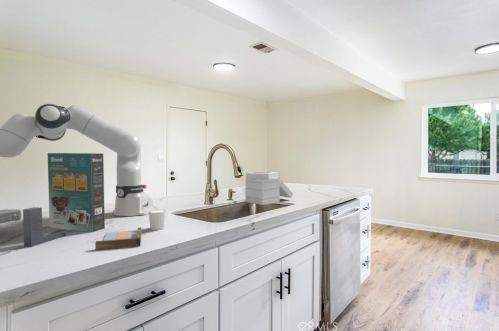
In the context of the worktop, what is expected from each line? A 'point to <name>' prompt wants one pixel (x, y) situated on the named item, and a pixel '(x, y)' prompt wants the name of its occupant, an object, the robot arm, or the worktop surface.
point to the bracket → (36, 228)
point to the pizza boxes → (265, 188)
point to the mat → (121, 236)
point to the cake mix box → (76, 191)
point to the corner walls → (119, 242)
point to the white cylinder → (157, 219)
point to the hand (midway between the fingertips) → (4, 221)
